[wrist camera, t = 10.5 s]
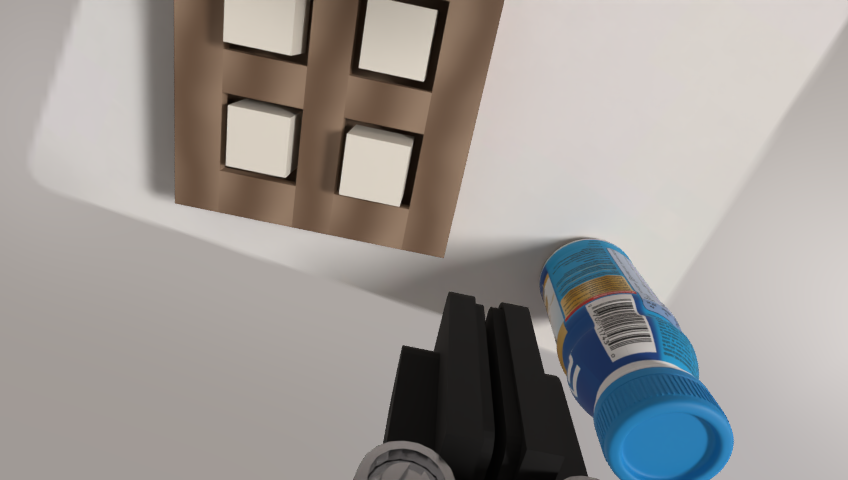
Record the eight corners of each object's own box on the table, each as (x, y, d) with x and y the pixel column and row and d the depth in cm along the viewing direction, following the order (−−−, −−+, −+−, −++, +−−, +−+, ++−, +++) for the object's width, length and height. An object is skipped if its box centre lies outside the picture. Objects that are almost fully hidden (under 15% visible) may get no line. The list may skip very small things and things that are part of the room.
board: (509, -40, 36) (515, -47, 32) (444, 238, 45) (443, 258, 41) (202, -107, 35) (173, -122, 32) (198, 188, 44) (175, 203, 40)
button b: (304, 110, 40) (290, 117, 37) (298, 166, 42) (285, 177, 38) (246, 98, 40) (228, 104, 37) (243, 154, 42) (225, 165, 38)
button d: (414, 136, 39) (410, 146, 36) (404, 192, 41) (399, 206, 38) (356, 124, 39) (346, 133, 36) (348, 180, 41) (338, 194, 37)
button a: (438, 11, 36) (437, 10, 33) (426, 76, 38) (423, 81, 35) (376, -3, 36) (368, -5, 33) (367, 64, 38) (358, 67, 35)
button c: (312, -17, 35) (297, -21, 32) (305, 52, 37) (291, 55, 34) (246, -30, 35) (225, -36, 32) (243, 39, 37) (223, 41, 34)
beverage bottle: (651, 255, 44) (790, 421, 26) (602, 330, 47) (694, 525, 29) (564, 220, 43) (643, 365, 25) (520, 299, 46) (561, 478, 28)
